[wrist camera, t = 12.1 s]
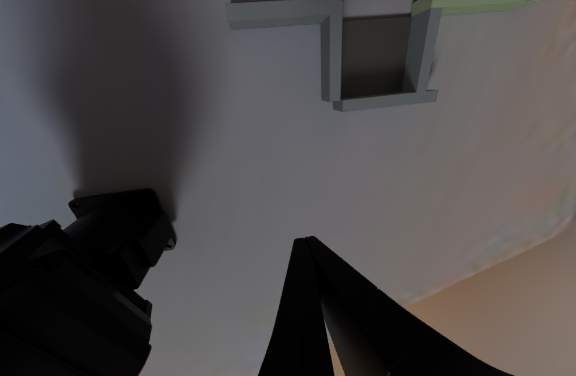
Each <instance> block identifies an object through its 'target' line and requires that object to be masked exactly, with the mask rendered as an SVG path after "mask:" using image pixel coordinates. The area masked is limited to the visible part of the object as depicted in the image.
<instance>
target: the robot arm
mask: <svg viewBox="0 0 576 376" xmlns="http://www.w3.org/2000/svg"><path fill="white" fill-rule="evenodd" d="M146 193H148V194H149V195H150V196H147V195H146ZM76 203H77V204H78V205H79V206H78V205H77V204H76ZM68 205H69V207H70V209H71V210H72V212H73V213H74V215H75V216H76V218H77V220H76V221H75V222H73V223H72V224H71V225H69V226H68V227H67V228H65V229H64V230H62V229H61V228H60V227H61V225H59V224H58V223H57V222H56V221H55V220H54V219H53V220H51V221H48V222H46V223H44V224H41V225H39V226H38V225H35V226H31V225H29V226H25V225H20V224H15V223H10V224H7V225H5V226H3V227H0V376H139V374H140V372H141V371H142V369H143V367H144V365H145V363H146V361H147V359H148V356H149V354H150V351H151V345H150V344H149V340H150V334H151V329H152V325H151V321H150V319H151V311H152V304H151V303H150V302H149V301H148V300H144V299H143V298H142V297H141V296H139V295H138V294H137V293H136V292H135V291H134V289H138V288H139V286H140V285H141V283H142V281H143V279H144V278H145V276H146V274H147V272H148V270H149V269H150V267H154V266H155V265H156V264H157V262H158V260H159V259H160V257H161V255H162V253H163V251H167V250H172V249H174V247H175V245H176V241H175V239H174V237H173V230H172V228H171V225H170V223H169V221H168V218H167V216H166V214H165V211H163V210H162V208H161V206H160V204H159V201H158V199H157V197H156V194H155V192H154V191H153V190H152V189H139V190H132V191H125V192H118V193H110V194H103V195H96V196H88V197H81V198H75V199H73V200H71V201H70V202H69V204H68ZM169 244H171V245H169ZM324 320H325V322H326V325H327V328H328V330H329V333H330V336H331V339H332V341H333V344H334V347H335V349H336V352H337V355H338V357H339V360H340V363H341V365H342V368H343V371H344V373H345V376H514V375H511V374H508V373H506V372H503V371H501V370H499V369H496V368H494V367H492V366H490V365H488V364H486V363H485V362H483V361H481V360H479V359H477V358H476V357H474V356H473V355H471V354H470V353H468V352H467V351H465V350H464V349H462V348H461V347H459V346H458V345H456V344H455V343H453V342H452V341H451V340H449V339H448V338H446V337H445V336H443V335H442V334H440V333H439V332H437V331H436V330H434V329H433V328H431V327H430V326H428V325H427V324H426V323H424V322H423V321H421V320H420V319H418V318H417V317H415V316H414V315H413V314H411V313H410V312H408V311H407V310H406V309H404V308H403V307H402V306H400V305H399V304H398V303H396V302H395V301H394V300H393V299H391V298H390V297H389V296H387V295H386V294H385V293H384V292H383V291H381V290H380V289H378V288H377V287H376V286H375V285H374V284H373V283H371V282H370V281H369V280H368V279H366V278H365V277H364V276H363V275H361V274H360V273H359V272H358V271H357V270H355V269H354V268H353V267H352V266H350V265H349V264H348V263H347V262H346V261H344V260H343V259H342V258H341V257H339V256H338V255H337V254H336V253H334V252H333V251H332V250H331V249H330V248H328V247H327V246H326V245H325V244H323V243H322V242H321V241H320V240H318V239H317V238H316V237H315V236H309V237H305V238H297V239H294V243H293V247H292V251H291V256H290V260H289V265H288V269H287V273H286V278H285V282H284V286H283V291H282V295H281V300H280V304H279V309H278V312H277V316H276V321H275V325H274V328H273V332H272V336H271V339H270V342H269V345H268V348H267V351H266V354H265V357H264V360H263V363H262V365H261V368H260V371H259V374H258V376H334V370H333V365H332V359H331V354H330V349H329V343H328V338H327V333H326V327H325V322H324Z"/></svg>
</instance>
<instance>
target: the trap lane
mask: <svg viewBox="0 0 576 376" xmlns="http://www.w3.org/2000/svg"><path fill="white" fill-rule="evenodd" d="M536 1H540V0H417V1H416V2H414V3H412V9H411V16H410V17H396V18H382V19H367V20H353V21H342V13H343V0H282V1H264V2H247V3H229V4H226V10H227V16H228V22H229V24H230V27H231V30H233V29H248V28H262V27H276V26H291V25H305V24H320V23H321V91H322V100H323V101H328V102H332V101H333V109H334V110H338V111H341V112H346V111H355V110H364V109H372V108H381V107H390V106H399V105H408V104H417V103H426V102H434V101H436V98H437V93H438V90H427V84H428V79H429V74H430V69H431V64H432V59H433V53H434V48H435V43H436V38H437V33H438V27H439V22H440V17H441V15H450V14H464V13H479V12H493V11H507V10H510V9H513V8H517V7H520V6H523V5H527V4H530V3H533V2H536Z"/></svg>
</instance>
